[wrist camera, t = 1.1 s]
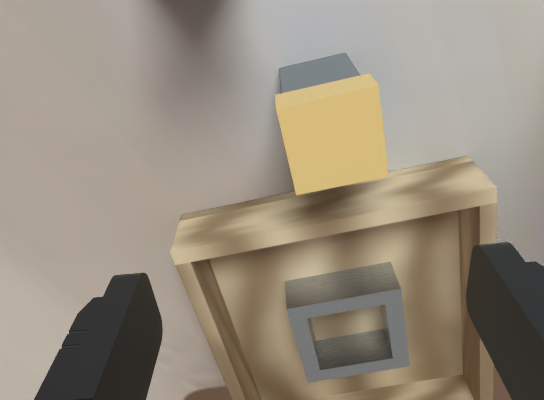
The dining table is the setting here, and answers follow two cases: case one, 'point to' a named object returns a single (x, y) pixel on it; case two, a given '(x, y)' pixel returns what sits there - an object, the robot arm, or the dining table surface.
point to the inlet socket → (340, 298)
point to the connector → (331, 124)
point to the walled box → (336, 257)
